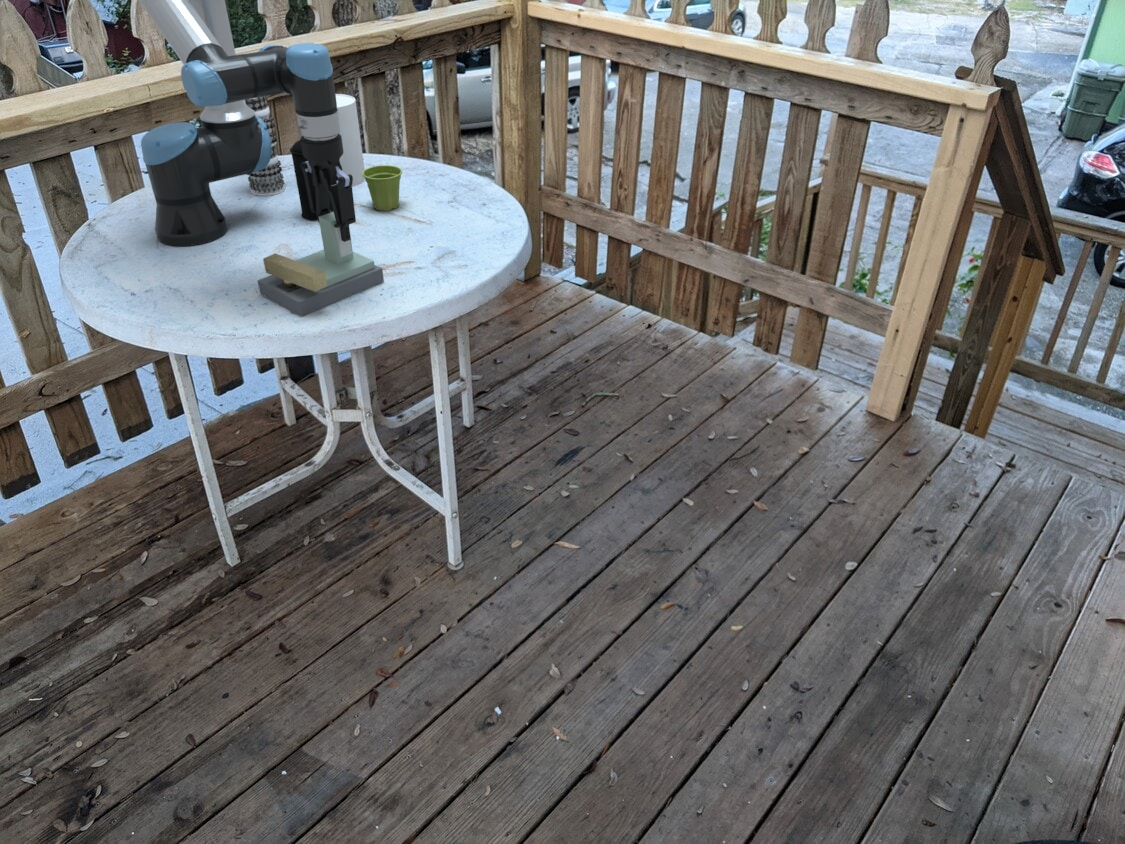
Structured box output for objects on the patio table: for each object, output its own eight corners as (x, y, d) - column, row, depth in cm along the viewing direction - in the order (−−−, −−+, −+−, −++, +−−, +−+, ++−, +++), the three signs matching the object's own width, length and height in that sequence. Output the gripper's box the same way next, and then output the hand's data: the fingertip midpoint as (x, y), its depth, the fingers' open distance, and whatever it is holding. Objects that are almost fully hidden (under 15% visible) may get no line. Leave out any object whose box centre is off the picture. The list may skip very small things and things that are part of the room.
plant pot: (402, 214, 205) (398, 178, 200) (363, 213, 205) (358, 178, 200) (408, 199, 213) (405, 165, 208) (371, 199, 213) (366, 164, 208)
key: (316, 299, 162) (312, 277, 159) (267, 280, 168) (263, 258, 165) (328, 294, 164) (324, 271, 161) (279, 275, 170) (275, 253, 167)
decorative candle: (241, 191, 217) (219, 89, 202) (270, 181, 223) (251, 81, 208) (265, 199, 212) (244, 95, 198) (294, 188, 218) (275, 87, 204)
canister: (369, 170, 230) (359, 93, 218) (360, 188, 219) (350, 108, 207) (319, 170, 230) (306, 93, 218) (307, 188, 219) (294, 108, 207)
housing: (260, 294, 170) (257, 279, 169) (341, 262, 183) (339, 248, 181) (301, 316, 163) (298, 301, 161) (383, 281, 175) (382, 267, 174)
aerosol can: (338, 218, 202) (325, 133, 191) (302, 222, 200) (287, 136, 189) (335, 206, 209) (322, 123, 197) (300, 209, 207) (285, 126, 195)
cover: (285, 271, 172) (276, 221, 166) (338, 251, 180) (331, 203, 174) (321, 289, 166) (313, 238, 159) (374, 267, 174) (368, 218, 167)
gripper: (276, 129, 161) (297, 245, 175) (331, 149, 152) (349, 269, 166) (309, 121, 166) (328, 234, 179) (365, 139, 157) (380, 257, 170)
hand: (338, 251), depth 172 cm, fingers closed on cover, 4 cm apart
